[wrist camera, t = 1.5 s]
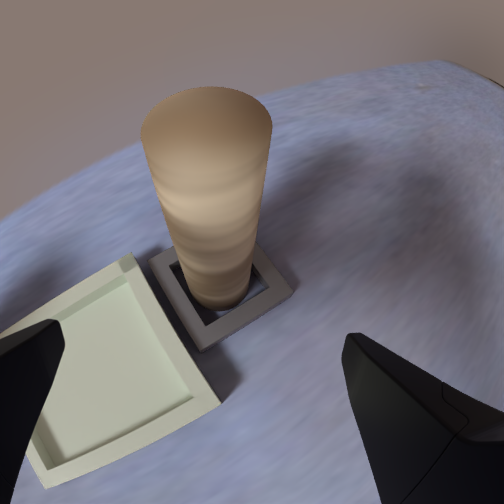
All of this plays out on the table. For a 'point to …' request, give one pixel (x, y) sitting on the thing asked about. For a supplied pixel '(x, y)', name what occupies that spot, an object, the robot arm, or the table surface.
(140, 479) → the table surface
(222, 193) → the dowel
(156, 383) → the tray
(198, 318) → the holder
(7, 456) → the robot arm
